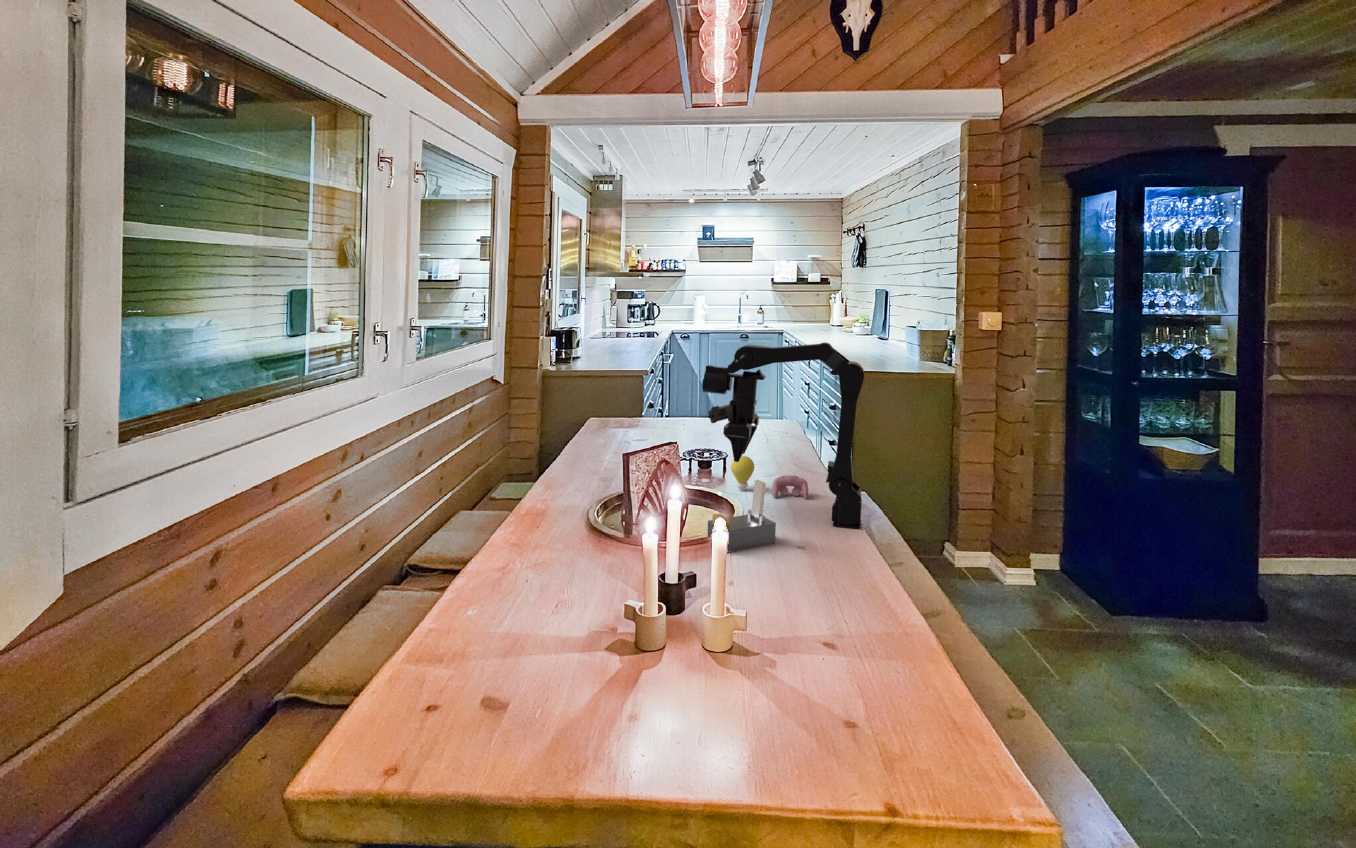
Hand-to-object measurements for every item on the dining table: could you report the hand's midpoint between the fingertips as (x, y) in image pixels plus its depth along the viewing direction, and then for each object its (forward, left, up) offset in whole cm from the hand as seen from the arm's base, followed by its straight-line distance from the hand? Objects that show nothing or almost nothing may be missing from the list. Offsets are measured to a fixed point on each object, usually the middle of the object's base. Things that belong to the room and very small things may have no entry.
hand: (739, 457), depth 185 cm
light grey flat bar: (-8, +18, -5) cm, 20 cm away
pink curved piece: (-10, -21, -15) cm, 28 cm away
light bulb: (+4, -24, -15) cm, 28 cm away
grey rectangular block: (-5, +20, -15) cm, 26 cm away
